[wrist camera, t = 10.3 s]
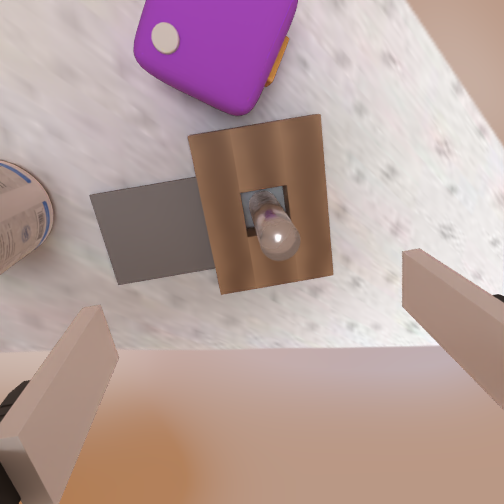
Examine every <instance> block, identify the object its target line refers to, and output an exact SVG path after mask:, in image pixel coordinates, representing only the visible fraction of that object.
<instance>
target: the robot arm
mask: <svg viewBox="0 0 504 504" xmlns="http://www.w3.org/2000/svg"><path fill="white" fill-rule="evenodd" d="M402 307H403V308H404V309H405V310H406V311H407V312H408V313H409V314H410V315H411V316H412V317H413V318H414V319H415V320H416V321H417V322H418V323H419V324H420V325H421V326H422V327H423V328H424V329H425V330H426V331H427V332H428V333H429V334H430V335H431V336H432V337H433V338H434V339H435V340H436V341H437V343H438V344H439V345H440V346H441V347H443V349H444V350H446V352H447V353H448V354H449V355H450V356H451V357H452V358H453V359H454V360H455V361H456V362H457V363H458V364H459V365H460V366H461V367H462V368H463V369H464V370H465V371H466V372H467V373H468V374H469V375H470V376H471V377H472V378H473V379H474V380H475V381H476V382H477V383H478V384H479V385H480V386H481V387H482V388H483V389H484V391H485V392H487V394H489V396H490V397H491V398H492V399H493V400H494V401H495V402H496V403H497V404H498V405H499V406H500V407H501V408H502V409H503V410H504V296H502V295H499V294H496V295H491V294H489V293H488V292H486V291H485V290H483V289H482V288H480V287H479V286H477V285H475V284H474V283H472V282H471V281H469V280H468V279H466V278H465V277H463V276H462V275H460V274H458V273H457V272H455V271H454V270H452V269H451V268H449V267H448V266H446V265H444V264H443V263H441V262H440V261H438V260H437V259H435V258H434V257H432V256H431V255H429V254H427V253H426V252H424V251H423V250H421V249H420V248H419V249H413V250H408V251H402ZM118 359H119V356H118V353H117V350H116V348H115V345H114V342H113V339H112V336H111V333H110V330H109V328H108V325H107V322H106V319H105V316H104V313H103V310H102V308H101V305H96V306H90V307H85V308H82V309H81V311H80V312H79V313H78V315H77V316H76V318H75V319H74V320H73V322H72V323H71V325H70V326H69V327H68V329H67V330H66V331H65V333H64V334H63V336H62V337H61V338H60V340H59V341H58V343H57V344H56V345H55V347H54V348H53V350H52V351H51V352H50V354H49V355H48V357H47V358H46V360H45V361H44V362H43V364H42V365H41V366H40V368H39V369H38V371H37V372H36V373H35V375H34V376H33V378H32V379H31V380H28V381H24V382H22V383H21V384H20V385H19V386H17V387H16V388H15V389H14V390H13V391H12V392H10V393H9V394H8V396H7V397H6V398H5V400H4V401H3V402H2V404H1V405H0V504H19V502H20V500H21V502H22V503H23V504H59V502H60V499H61V497H62V495H63V492H64V490H65V487H66V485H67V482H68V480H69V478H70V475H71V473H72V470H73V468H74V465H75V463H76V460H77V458H78V456H79V453H80V451H81V448H82V446H83V444H84V441H85V439H86V436H87V434H88V432H89V429H90V427H91V424H92V422H93V420H94V417H95V415H96V412H97V410H98V407H99V405H100V403H101V400H102V398H103V395H104V393H105V391H106V388H107V386H108V383H109V381H110V378H111V376H112V374H113V371H114V369H115V366H116V364H117V362H118Z"/></svg>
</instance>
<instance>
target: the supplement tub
mask: <svg viewBox="0 0 504 504" xmlns="http://www.w3.org/2000/svg"><path fill="white" fill-rule="evenodd" d="M52 225H53V208H52V204H51V201H50V199H49V196H48V195H47V193H46V191H45V189H44V188H43V187H42V185H41V184H40V183H39V182H38V181H37V180H36V179H35V178H34V177H33V176H31V175H30V174H29V173H27V172H26V171H24V170H23V169H21V168H19V167H18V166H15V165H13V164H11V163H8V162H4V161H0V275H1V274H2V273H3V272H5V271H6V270H7V269H9V268H10V267H11V266H13V265H14V264H15V263H17V262H18V261H19V260H21V259H22V258H24V257H25V256H26V255H28V254H29V253H30V252H32V251H33V250H34V249H36V248H37V247H38V246H40V245H41V244H42V243H43V242H44V241H45V239H46V238H47V237H48V235H49V233H50V231H51V228H52Z"/></svg>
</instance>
